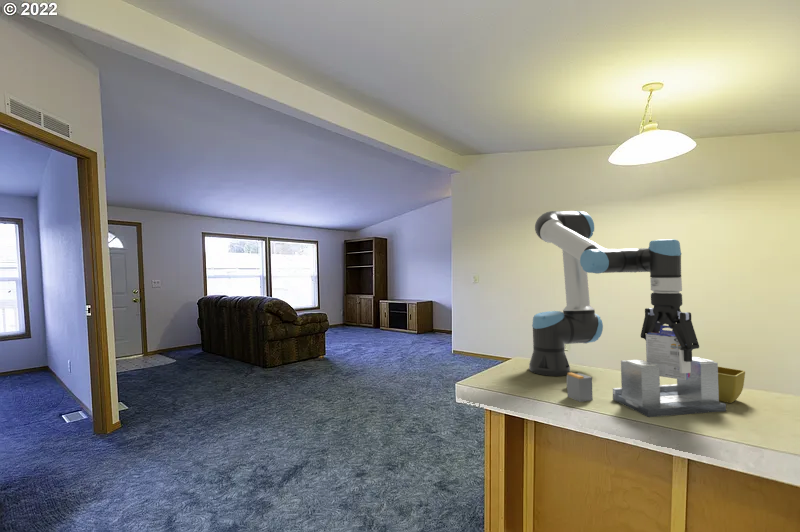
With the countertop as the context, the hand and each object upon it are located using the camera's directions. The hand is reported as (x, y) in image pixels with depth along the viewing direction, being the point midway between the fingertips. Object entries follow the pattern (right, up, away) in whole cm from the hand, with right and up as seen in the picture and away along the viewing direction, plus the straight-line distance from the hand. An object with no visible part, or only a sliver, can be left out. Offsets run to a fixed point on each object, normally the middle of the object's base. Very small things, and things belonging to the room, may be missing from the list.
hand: (668, 367), depth 109 cm
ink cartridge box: (0, -3, 0) cm, 3 cm away
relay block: (-22, -12, +8) cm, 26 cm away
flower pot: (+20, -11, +4) cm, 23 cm away
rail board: (0, -11, +1) cm, 11 cm away
